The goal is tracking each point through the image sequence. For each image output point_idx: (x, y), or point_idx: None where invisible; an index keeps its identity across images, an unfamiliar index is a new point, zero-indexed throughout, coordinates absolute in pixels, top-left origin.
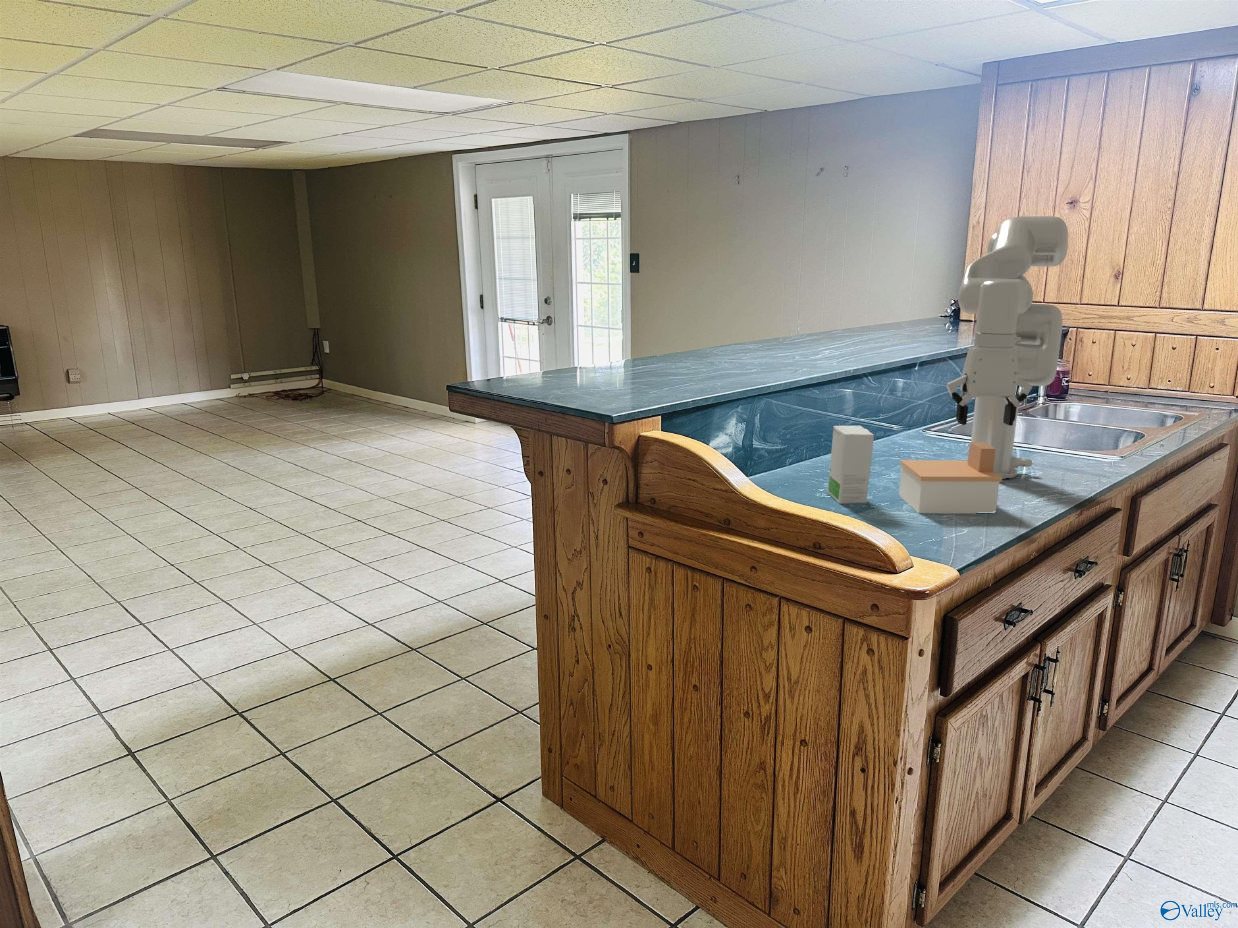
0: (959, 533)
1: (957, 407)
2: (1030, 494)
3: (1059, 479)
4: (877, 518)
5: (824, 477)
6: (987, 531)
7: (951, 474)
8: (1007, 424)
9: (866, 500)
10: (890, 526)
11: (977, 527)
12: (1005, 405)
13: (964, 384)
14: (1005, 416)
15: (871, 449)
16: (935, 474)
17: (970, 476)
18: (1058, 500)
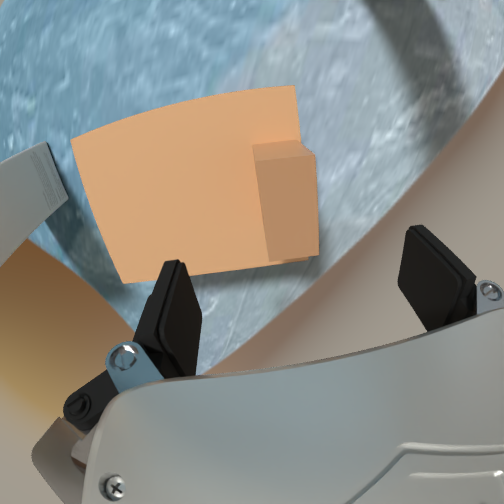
0: (204, 313)
1: (136, 342)
2: (403, 82)
3: (465, 11)
4: (95, 271)
5: (14, 60)
6: (246, 302)
7: (186, 258)
8: (399, 271)
9: (66, 200)
10: (116, 299)
11: (235, 289)
12: (457, 285)
13: (118, 464)
14: (421, 263)
15: (9, 256)
16: (150, 265)
17: (230, 269)
18: (432, 124)
